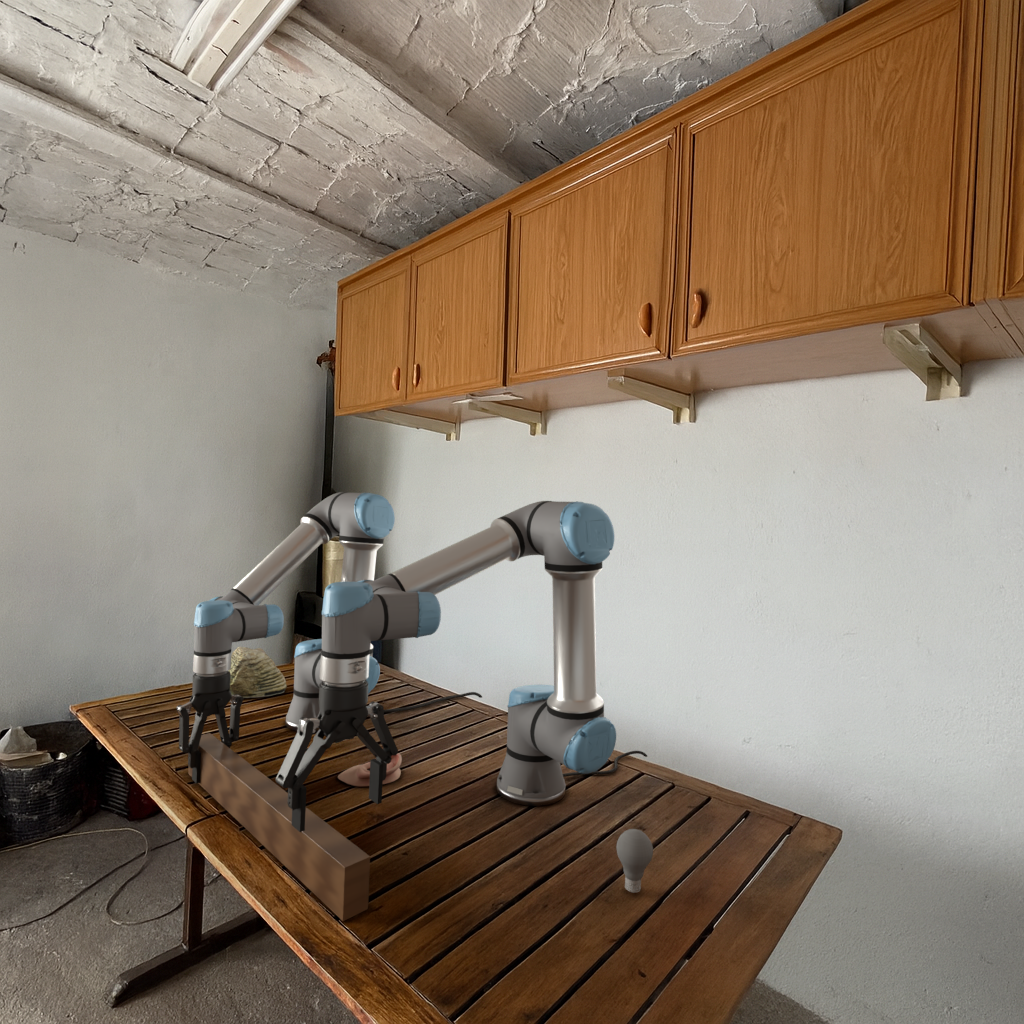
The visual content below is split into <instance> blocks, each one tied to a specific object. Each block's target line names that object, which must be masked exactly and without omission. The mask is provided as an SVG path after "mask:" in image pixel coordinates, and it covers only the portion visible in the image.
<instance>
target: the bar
mask: <svg viewBox="0 0 1024 1024" xmlns="http://www.w3.org/2000/svg"><path fill="white" fill-rule="evenodd" d="M189 741H190V737H189ZM198 751H200V752H201V770H200V783H197V784H198V785H199V786H200V787H201V788H203V790H204V791H206V792H207V794H209V795H210V797H212V798H213V799H214V800H215V801H216V802H217V803H218V804H219V805H220V806H221V807H222V808H223V809H225V811H227V812H228V813H229V815H231V816H232V818H234V819H235V820H236V821H237V822H238V823H239V824H240V825H241V826H242V827H244V829H245V830H246V831H247V832H249V833H250V835H252V836H253V838H254V839H256V840H257V842H259V843H260V844H261V845H262V846H263V847H264V848H265V849H266V850H267V851H268V852H269V853H271V854H272V855H273V856H274V857H275V859H276V860H278V861H279V863H281V864H282V865H283V866H284V867H285V868H286V869H288V871H289V872H290V873H292V874H293V875H294V876H295V878H297V879H298V880H299V881H300V882H301V883H302V884H303V885H304V886H305V887H306V888H307V889H308V890H309V891H310V892H311V893H312V894H313V895H314V896H316V897H317V898H318V899H319V900H320V901H321V903H323V904H324V905H325V906H326V907H327V908H328V909H329V910H330V911H331V912H333V914H334V915H336V916H337V917H338V918H339V920H341V921H342V922H345V921H346V920H349V919H350V918H352V917H355V916H357V915H359V914H361V913H363V912H365V911H367V910H369V900H370V899H369V898H370V871H371V856H370V855H369V854H367V853H366V852H365V851H364V850H362V849H361V848H360V847H358V846H357V845H356V844H354V843H353V841H351V840H349V839H348V838H347V837H346V836H344V835H343V834H342V833H340V832H339V831H338V830H337V829H335V828H334V827H333V826H332V825H330V824H328V822H326V821H325V820H323V819H322V818H321V817H319V816H318V815H317V814H315V812H314V811H312V810H311V809H309V808H308V807H306V812H305V831H302V832H299V831H298V830H297V829H296V828H294V827H293V826H292V809H291V808H290V807H288V804H287V802H288V791H286V790H284V788H283V787H282V786H280V785H279V784H278V783H276V782H274V781H273V780H271V779H270V778H269V777H268V776H267V775H265V774H264V773H263V772H261V771H260V770H259V769H258V768H256V767H255V766H254V765H252V764H251V763H250V762H249V761H247V760H246V759H245V758H243V757H242V756H241V755H240V754H238V753H237V752H236V751H234V750H233V749H231V747H230V748H229V747H227V746H226V745H225V744H224V743H222V742H221V739H218V738H217V737H216V736H215V735H213V734H212V733H211V732H208V733H204V734H203V733H202V735H201V739H200V743H199V747H198ZM187 771H188V773H187V774H188V775H189V776H190V777H191V778H192V768H190V767H189V766H188V770H187Z"/></svg>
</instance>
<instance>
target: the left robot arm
mask: <svg viewBox="0 0 1024 1024" xmlns="http://www.w3.org/2000/svg"><path fill="white" fill-rule="evenodd" d="M395 518H396V517H395V511H394V509H393V506H392V504H391V503H390V502H389V500H388V499H387V498H386V497H385V496H383V495H381V494H377V493H373V492H349V491H339V492H336V493H333V494H331V495H329V496H326V498H324V499H323V500H321V501H320V502H318V503H317V504H315V506H313V507H312V508H311V509H310V510H308V512H306V513H305V514H304V515H303V516H302V517H301V518H300V524H299V525H298V526H297V527H295V528H294V530H292V532H291V533H290V534H288V535H287V536H286V537H285V538H284V539H282V541H281V542H280V543H279V544H278V545H277V546H276V547H275V548H274V549H273V550H272V551H270V553H268V554H267V555H266V556H265V557H264V558H263V559H262V560H261V561H260V562H259V563H257V565H255V566H254V567H253V568H252V569H251V570H250V571H249V572H248V573H247V574H246V575H244V577H243V578H242V579H240V581H239V582H237V583H236V585H234V586H233V587H232V588H231V589H230V590H229V591H228V592H226V594H225V595H224V596H215V597H213V598H210V599H209V600H204V601H201V602H199V603H198V604H197V605H196V607H195V612H194V619H193V620H194V621H193V626H194V628H193V629H194V631H193V633H194V634H193V657H192V658H193V659H192V660H193V661H192V671H193V675H192V688H191V689H192V690H191V691H192V692H191V697H190V699H189V701H188V702H186V703H184V704H178V705H177V706H176V711H177V713H178V716H179V717H178V749H179V750H180V751H181V752H182V753H184V754H187V755H188V756H187V765H188V767H190V768H192V777H191V780H192V781H193V782H194V783H195V784H198V783H200V770H201V752H200V751H198V747H199V743H200V739H201V735H203V731H204V727H205V724H206V723H207V721H208V717H210V716H212V715H214V716H215V720H216V724H217V729H218V733H219V738H220V741H221V742H222V743H224V744H225V745H226V746H227V747H229V748H230V749H231V747H232V745H233V742H237V741H238V740H239V738H240V723H241V707H242V704H243V702H244V698H243V697H242V696H240V695H238V694H236V695H233V694H231V692H230V678H231V673H230V672H229V670H230V669H231V655H232V647H233V643H237V642H238V643H239V642H244V641H245V642H246V641H251V640H258V639H267V638H270V637H273V636H277V635H279V634H280V633H281V632H282V630H283V627H284V624H285V623H284V619H285V617H284V612H283V610H282V609H281V607H280V606H279V605H278V604H275V603H272V604H267V603H264V604H262V603H263V602H264V601H265V600H266V599H267V597H269V596H270V595H271V594H272V593H273V592H274V590H275V589H277V588H278V587H279V586H280V585H281V584H282V583H283V582H284V581H285V580H286V579H287V578H288V577H289V576H290V575H291V574H292V573H293V572H294V571H295V570H296V569H297V568H298V567H300V565H301V564H302V563H304V561H305V560H306V559H307V558H308V557H309V556H310V555H312V553H314V551H316V549H318V547H320V546H321V545H325V544H328V543H329V542H330V541H331V540H332V539H333V538H335V537H337V536H339V537H338V542H339V544H340V545H341V546H342V547H343V555H342V557H343V558H342V564H341V565H342V567H341V577H340V582H358V581H361V580H372V581H374V580H375V575H376V563H377V554H378V553H377V552H378V551H379V549H380V548H381V547H383V546H384V541H385V540H384V539H385V538H387V536H389V535H390V532H391V531H392V530H393V528H394V526H395V520H396V519H395ZM321 648H322V638H317V639H308V640H304V641H300V642H299V643H297V645H296V646H295V650H294V655H293V657H294V672H293V673H294V674H293V695H292V696H293V697H292V699H291V702H290V704H289V708H288V711H287V713H286V715H285V726H286V728H287V729H289V730H291V731H294V732H295V731H296V732H297V730H298V724H299V719H300V718H301V717H305V718H307V719H312V718H317V717H318V715H319V711H320V709H319V685H320V683H321V682H322V680H321V679H320V662H321ZM373 654H374V645H373V644H372V643H371V644H370V656H369V677H368V678H367V679H366V681H367V682H368V695H369V694H370V693H371V691H372V690H374V689H375V687H376V686H377V684H378V681H379V679H380V676H381V675H380V674H381V667H380V664H379V662H378V660H377V659H376V658H375V657H373ZM468 696H469V697H470V696H476V697H478V698H479V699H480V698H481V699H482V698H483V695H482V694H481V693H478V692H476V691H470V692H464V693H460V694H453V695H448V696H444V697H440V698H436V699H433V700H430V701H426V702H422V703H419V704H415V705H410V706H404V707H398V708H389V709H384V714H387V713H397V712H403V711H404V712H405V711H410V710H416V709H419V708H423V707H426V706H427V707H428V706H430V705H432V704H436V703H439V702H444V701H447V700H451V699H458V698H464V697H468ZM228 703H230V711H229V712H230V714H229V727H228V723H227V717H226V716H227V715H226V709H225V708H226V707H227V705H228ZM192 708H193V709H194V710H195V715H194V722H193V726H192V730H191V734H190V715H189V714H191V709H192ZM315 730H316V732H315V733H317V732H318V731H319V727H317V728H316V729H315ZM189 738H190V741H189Z"/></svg>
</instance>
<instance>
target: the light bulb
mask: <svg viewBox="0 0 1024 1024" xmlns="http://www.w3.org/2000/svg"><path fill="white" fill-rule="evenodd" d="M615 849H616V854H617V857H618V859H619V861H620V863H621V865H622V867H623V873H624V874H623V875H624V876H625V878H624V888H625V890H627V891H628V892H630V893H634V894H635V893H639V892H640V891H641V889H642V887H641V886H642V879H643V877H644V875H645V871H646V868H647V867H648V866H649V864H650V863H651V861H652V859H653V855H654V847H653V843H652V841H651V838H649V836H648V835H647V834H646V833H645V832H643V831H642V830H641V829H636V828H629V829H627V830H625V831H623V832H622V833H621V834H620V835H619V837H618V839H617V841H616V847H615Z"/></svg>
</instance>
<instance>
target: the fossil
mask: <svg viewBox="0 0 1024 1024" xmlns="http://www.w3.org/2000/svg"><path fill="white" fill-rule="evenodd" d="M229 672H230V673H231V678H230V692H231V694H233V695H236V694H238V695H240V696H242V697H243V699H250V698H264V697H271V696H275V695H281V694H284V693H285V691H286V689H287V687H288V686H287V680H286V678H285V676H284V674H283V673H282V672H281V669H279V668H278V667H277V665H276V663H275V662H274V660H273V659H272V658H271V657H270V656H269V655H268V654H267V653H266V652H265V650H264V649H263V648H260V647H258V648H251V647H247V646H246V647H245V646H238V647H237V648H236V649H235V650H233V651H232V652H231V669H230V670H229Z"/></svg>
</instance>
